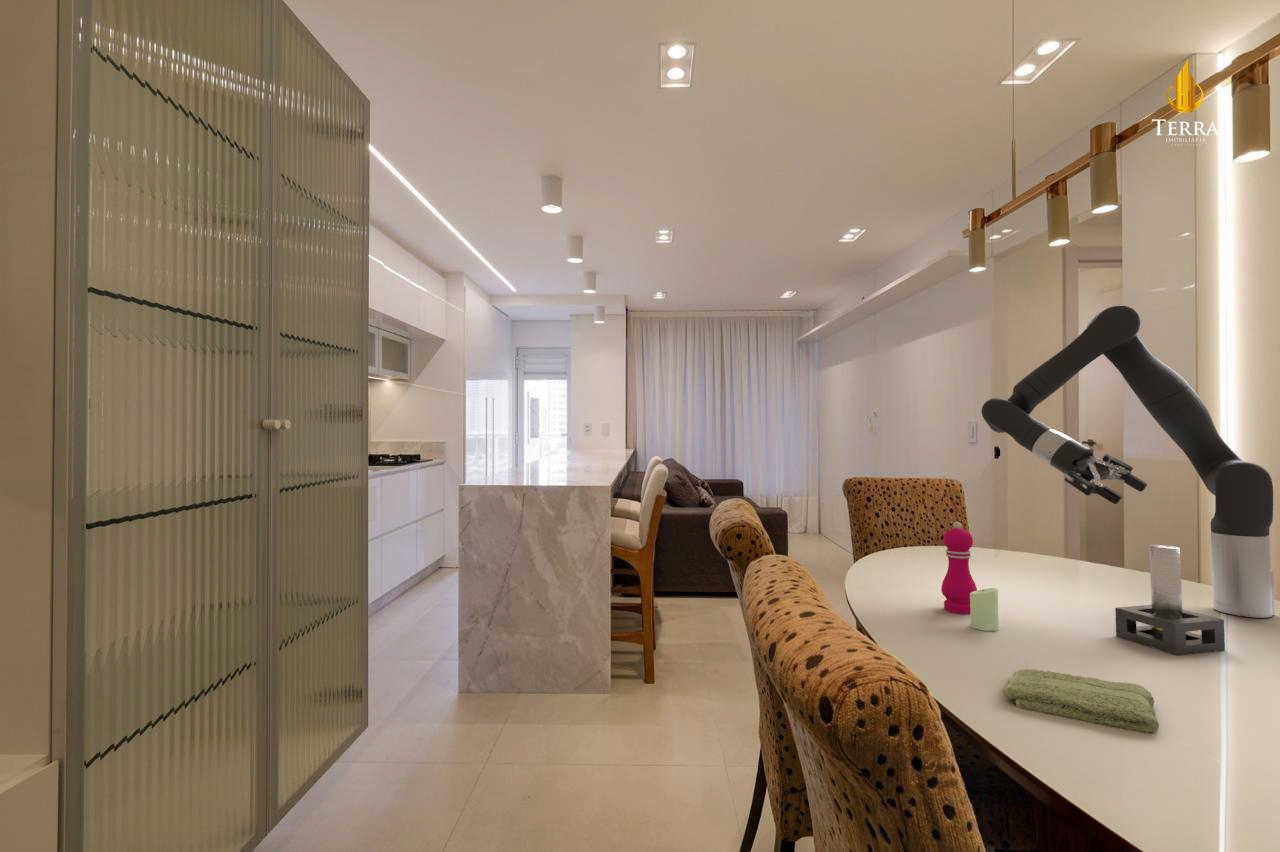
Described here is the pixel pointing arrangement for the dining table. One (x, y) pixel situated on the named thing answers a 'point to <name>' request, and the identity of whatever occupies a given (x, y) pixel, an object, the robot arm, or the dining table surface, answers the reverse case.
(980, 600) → the candle
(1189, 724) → the dining table surface
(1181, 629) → the collar stand
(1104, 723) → the washcloth
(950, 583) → the pepper mill
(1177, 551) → the metal can
